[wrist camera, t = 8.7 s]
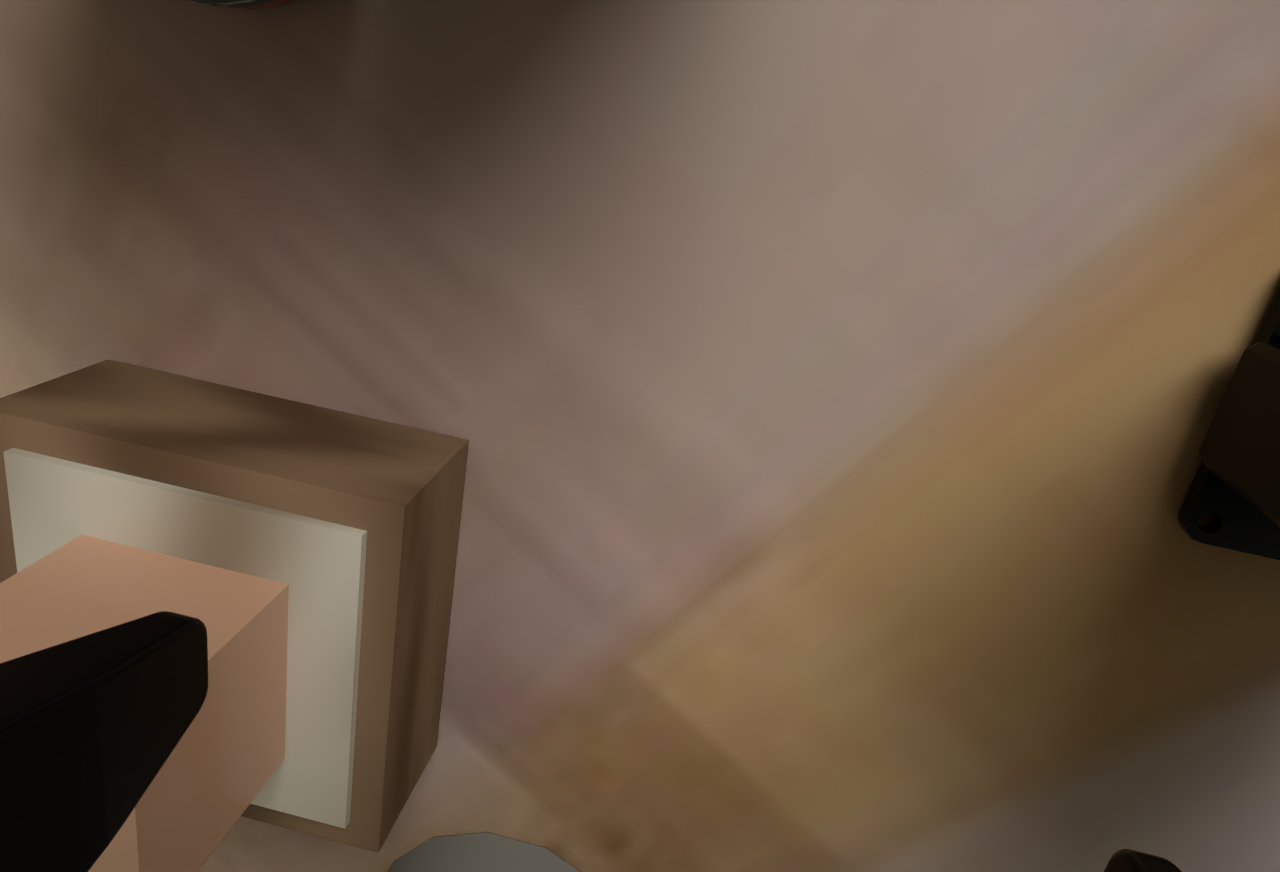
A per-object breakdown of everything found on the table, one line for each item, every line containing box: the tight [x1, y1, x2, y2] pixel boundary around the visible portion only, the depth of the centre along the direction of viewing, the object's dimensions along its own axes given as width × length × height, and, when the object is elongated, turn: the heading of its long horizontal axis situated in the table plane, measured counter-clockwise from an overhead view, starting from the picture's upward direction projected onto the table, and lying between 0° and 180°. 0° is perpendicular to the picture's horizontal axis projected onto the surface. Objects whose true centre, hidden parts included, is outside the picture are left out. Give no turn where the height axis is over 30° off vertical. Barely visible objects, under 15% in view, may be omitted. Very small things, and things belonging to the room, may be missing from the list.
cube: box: [0, 535, 289, 872], centre depth 18 cm, size 5×5×5 cm
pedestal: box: [0, 360, 469, 852], centre depth 22 cm, size 10×10×4 cm
